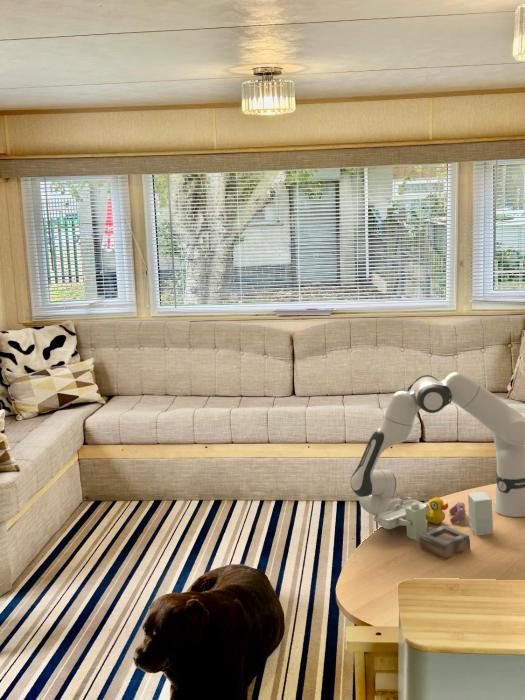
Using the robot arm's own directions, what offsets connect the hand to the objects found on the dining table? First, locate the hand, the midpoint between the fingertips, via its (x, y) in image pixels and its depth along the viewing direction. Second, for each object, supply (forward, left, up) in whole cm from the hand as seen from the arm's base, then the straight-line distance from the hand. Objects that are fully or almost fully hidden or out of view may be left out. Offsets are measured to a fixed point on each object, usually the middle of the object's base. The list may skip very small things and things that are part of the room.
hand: (417, 521), depth 275 cm
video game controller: (-22, -2, -6) cm, 23 cm away
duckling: (-13, -5, -6) cm, 15 cm away
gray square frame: (0, +13, -6) cm, 14 cm away
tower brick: (0, -1, -6) cm, 6 cm away
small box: (-20, +11, -6) cm, 24 cm away
